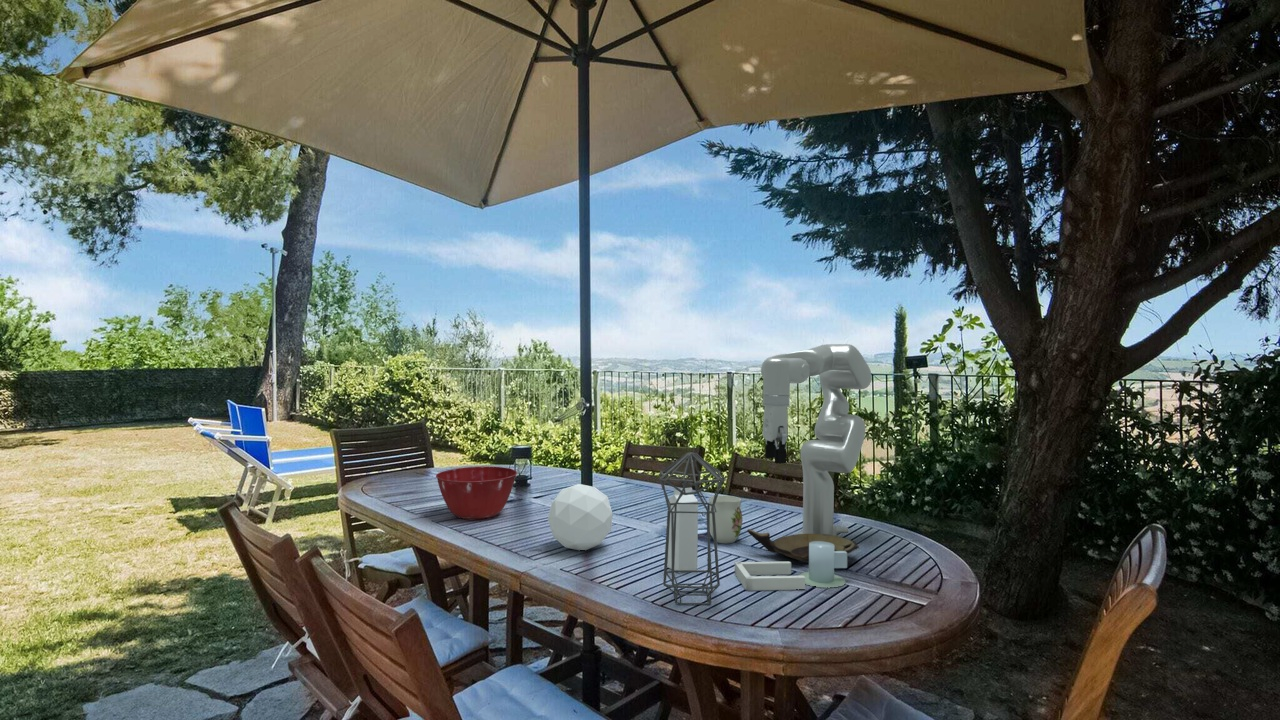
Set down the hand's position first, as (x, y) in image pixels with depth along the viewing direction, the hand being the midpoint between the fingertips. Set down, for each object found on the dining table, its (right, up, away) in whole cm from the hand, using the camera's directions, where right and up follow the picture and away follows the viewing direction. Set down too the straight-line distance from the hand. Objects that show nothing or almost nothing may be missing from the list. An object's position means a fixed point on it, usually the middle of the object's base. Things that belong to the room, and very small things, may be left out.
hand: (775, 460), depth 189 cm
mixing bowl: (-98, -27, +48) cm, 113 cm away
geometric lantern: (-27, -28, -31) cm, 50 cm away
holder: (-6, -28, -19) cm, 35 cm away
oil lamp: (+9, -29, +2) cm, 30 cm away
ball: (-57, -28, +9) cm, 64 cm away
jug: (+10, -28, -18) cm, 35 cm away
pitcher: (-12, -28, +19) cm, 36 cm away
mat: (+8, -28, -18) cm, 35 cm away
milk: (-28, -28, -10) cm, 41 cm away
